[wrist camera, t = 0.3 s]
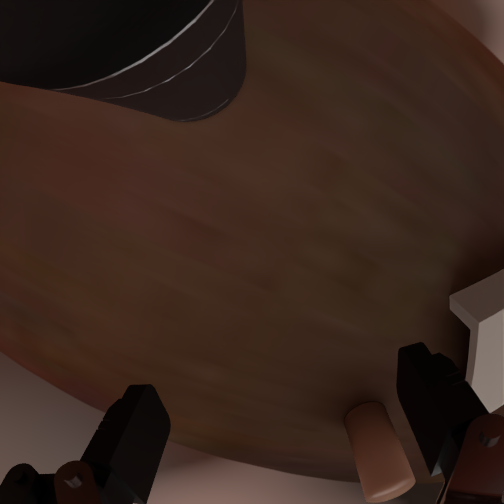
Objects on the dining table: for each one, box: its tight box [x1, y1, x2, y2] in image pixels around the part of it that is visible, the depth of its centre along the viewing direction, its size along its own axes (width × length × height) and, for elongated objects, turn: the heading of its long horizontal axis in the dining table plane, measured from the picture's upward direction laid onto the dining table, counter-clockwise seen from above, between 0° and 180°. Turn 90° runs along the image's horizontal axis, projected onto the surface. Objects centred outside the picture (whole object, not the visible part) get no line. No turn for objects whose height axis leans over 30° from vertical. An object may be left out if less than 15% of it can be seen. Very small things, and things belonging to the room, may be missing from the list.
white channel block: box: [449, 269, 504, 413], centre depth 28 cm, size 18×12×6 cm, turn 19°
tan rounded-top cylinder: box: [344, 402, 415, 503], centre depth 29 cm, size 6×6×12 cm
